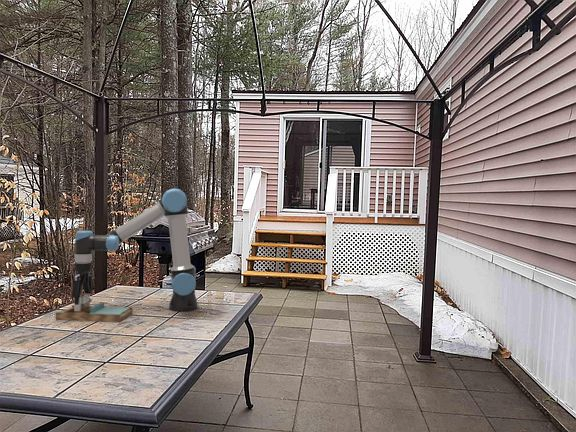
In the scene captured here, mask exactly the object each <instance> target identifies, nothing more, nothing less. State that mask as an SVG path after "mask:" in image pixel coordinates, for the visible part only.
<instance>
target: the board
mask: <svg viewBox="0 0 576 432" xmlns="http://www.w3.org/2000/svg"><path fill="white" fill-rule="evenodd" d="M93 306H94V305H90V307H88V309H89V310H88V309H87V308H84V309H81V311H74V305H71V307H69V308H67V309H65V310H63V311H60V312H58V311H57V312H55V320H58V321H59V320H60V321H76V322H77V321H79V322H106V323H107V322H108V323H121V322H123V321H124V320H125V319H127V318H128V317H130V316H132V315H133V307H129V308H130V310H128V311H126V312H125V313H123V314H121V315H110V314H90V311H91V307H93ZM116 307H117V308H127V307H125V306H123V307H121V306H116Z"/></svg>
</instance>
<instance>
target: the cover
mask: <svg viewBox="0 0 576 432" xmlns="http://www.w3.org/2000/svg"><path fill="white" fill-rule="evenodd" d="M92 306H93V307H91V311H90V314H110V315H121V314H123V313H125V312H126V311H128V310H130V308H131V307H126V308H117V307H118V306H105V302H104V301H103V302H102V301H101V302H99V303H97V304H95V305H92Z"/></svg>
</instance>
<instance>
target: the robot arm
mask: <svg viewBox="0 0 576 432" xmlns="http://www.w3.org/2000/svg"><path fill="white" fill-rule="evenodd" d="M187 202H188V199H187V195H186V194H185V192H184V191H183V190H181V189H179V188H170V189H168V190H166V191H165V192H164V193H163V195H162V198H160V199H158V200H157V203H155V204H154V205H153V206H151V207H150V208H148V209H145V210H144V211H143V212H141V213H139V214H138V215H137V216H134V217H133V218H132V219H130V220H128V221H127V222H125V223H124V224H122V225H120V226H119V227H117V228H115V229H114V230H112V231H110V232H109V233H106V234H105V235H104V234H103V235H101V234H99V235H98V234H97V235H96V234H94V232H93V231H92V230H78V231H76V233H75V239H74V246H75V247H74V271H75V272H76V275H73V276H72V280H73V281H72V291H71V298H72V299H73V298H74V300H73V301H74V303H73V304H74V311H81V297H80V294H82V290H84V291H83V292H84V294H87V293H88V295H89V297H90V296H91V294H92V293H93V272H92V270H93V269H92V268H93V267H92V266H93V265H92V264H93V263H92V262H93V251H108V252H111V251H113V252H114V251H118V250H119V245H121V244H122V243H123V242H125V241H126V240H128V239H129V238H131V237H133V236H134V235H136V234H138V233H140V232H141V231H143V230H144V229H146V228H148V227H150V225H152V224H154V223H155V222H157V221H159V220H160V219H162V218H163V217H165V218H166V219H167V221H168V229H169V239H170V247H171V249H170V250H171V255H172V265H173V266H172V267H171V268H170V276H171V288H172V295H171V299H170V301H169V304H168V305H169V306H168V308H169V310H170V311H171V310H172V311H175V312H176V311H177V312H189V311H195V310H197V309H198V306H199V304H198V301H197V298H196V285H197V281H196V280H197V279H196V273H197V268H196V267H195V265H193V264H192V263H191V256H190V246H189V238H188V230H187V219H186V217H187V216H188V215H189V211H188V209H189V208H188V203H187ZM90 298H91V297H90ZM90 304H91V303H90ZM90 304H89V306H88V307H90V306H91V305H90ZM194 309H195V310H194Z"/></svg>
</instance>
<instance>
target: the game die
mask: <svg viewBox="0 0 576 432" xmlns="http://www.w3.org/2000/svg"><path fill="white" fill-rule="evenodd" d="M80 297H81V309H84V308H87V309H88V306H89V304H91V302H93V299H92V298H91V297H89V295H88V293H87V294H86V293H81V294H80ZM74 301H75V300H73V301H72V304H74ZM88 310H89V309H88Z"/></svg>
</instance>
